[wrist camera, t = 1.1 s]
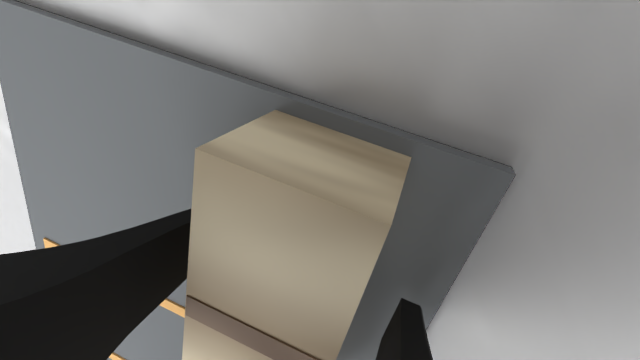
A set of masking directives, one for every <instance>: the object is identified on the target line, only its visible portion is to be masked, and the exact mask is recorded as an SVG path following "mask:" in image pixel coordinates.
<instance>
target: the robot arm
mask: <svg viewBox="0 0 640 360" xmlns="http://www.w3.org/2000/svg"><path fill="white" fill-rule="evenodd" d="M190 224H191V209H188V210H185V211H181V212H178V213H175V214H172V215H169V216H166V217H163V218H160V219H157V220H154V221H151V222H148V223H145V224H142V225H138V226H135V227H132V228H129V229H125V230H122V231H118V232H115V233H111V234H107V235H104V236H100V237H96V238H92V239H88V240H84V241H80V242H75V243H70V244H65V245H61V246H55V247H49V248H43V249H37V250H30V251H24V252H17V253H10V254H1V255H0V360H107V359H108V358H109V356H110V355H111V354H112V353H113V352H114V351H115V350H116V348H117V347H118V346H119V345H120V344H121V343H122V342H123V340H124V339H125V338H126V337H127V336H128V335H129V334H130V333H131V332H132V331H133V330H134V329H135V328H136V327H137V326H138V325H139V324H140V323H141V322H142V321H143V320H144V319H145V318H146V317H147V316H148V315H149V314H150V313H151V312H152V311H154V310H155V309H156V308H157V307H158V306H159V305H160V304H161V303H162V302H163V301H164V300H165V299H166V298H167V297H168V296H169V295H170V294H171V293H172V292H174V291H175V290H176V289H177V288H178V287H179V286H180V285H181V284H182V283H183V282H184V281H185V280H186V279H187V271H188V256H189V240H190ZM376 360H433V358H432V355H431V351H430V347H429V342H428V338H427V333H426V329H425V324H424V318H423V312H422V308H421V306H420V305H417V304H415V303H413V302H410V301H408V300H406V299H403V298H401V300H400V302H399V304H398V306H397V308H396V310H395V312H394V314H393V316H392V318H391V320H390V322H389V324H388V326H387V328H386V330H385V332H384V334H383V336H382V338H381V342H380V345H379V349H378V353H377V356H376Z"/></svg>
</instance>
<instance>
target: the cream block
mask: <svg viewBox="0 0 640 360" xmlns="http://www.w3.org/2000/svg"><path fill="white" fill-rule="evenodd" d="M410 161H411V157H409V156H406V155H403V154H401V153H398V152H395V151H392V150H389V149H386V148H383V147H381V146H378V145H375V144H372V143H369V142H366V141H363V140H361V139H358V138H355V137H352V136H349V135H346V134H343V133H340V132H338V131H335V130H332V129H329V128H326V127H323V126H320V125H318V124H315V123H312V122H309V121H306V120H303V119H300V118H298V117H295V116H292V115H289V114H286V113H283V112H280V111H278V110H274V111H272V112H270V113H268V114H266V115H263V116H261V117H259V118H257V119H255V120H253V121H251V122H249V123H247V124H245V125H243V126H241V127H239V128H237V129H235V130H232V131H230V132H228V133H226V134H224V135H222V136H220V137H218V138H216V139H214V140H212V141H210V142H208V143H206V144H203V145H201V146H199V147H197V148H195V160H194V176H193V192H192V208H191V224H190V240H189V256H188V271H187V287H186V303H185V319H184V335H183V351H182V360H336V358H337V356H338V354H339V351H340V349H341V346H342V344H343V341H344V339H345V337H346V334H347V332H348V329H349V327H350V324H351V322H352V320H353V317H354V315H355V312H356V310H357V307H358V305H359V303H360V300H361V298H362V295H363V293H364V291H365V288H366V286H367V283H368V281H369V278H370V276H371V274H372V271H373V269H374V266H375V264H376V261H377V259H378V257H379V254H380V252H381V249H382V247H383V244H384V242H385V240H386V237H387V235H388V232H389V230H390V227H391V225H392V221H393V218H394V215H395V211H396V208H397V205H398V201H399V198H400V194H401V191H402V188H403V184H404V181H405V178H406V174H407V171H408V167H409V164H410Z"/></svg>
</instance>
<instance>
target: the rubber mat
mask: <svg viewBox="0 0 640 360" xmlns="http://www.w3.org/2000/svg"><path fill="white" fill-rule="evenodd" d="M0 83H1V88H2V92H3V97H4V101H5V106H6V111H7V115H8V120H9V125H10V129H11V134H12V139H13V143H14V148H15V153H16V157H17V162H18V167H19V171H20V176H21V181H22V185H23V190H24V195H25V199H26V204H27V209H28V213H29V218H30V223H31V227H32V232H33V237H34V241H35V246H36V250H37V249H43V248H49V247H55V246H61V245H65V244H70V243H75V242H80V241H84V240H88V239H92V238H96V237H100V236H104V235H107V234H111V233H115V232H118V231H122V230H125V229H129V228H132V227H135V226H138V225H142V224H145V223H148V222H151V221H154V220H157V219H160V218H163V217H166V216H169V215H172V214H175V213H178V212H181V211H185V210H188V209H191V208H192V192H193V176H194V160H195V148H197V147H199V146H201V145H203V144H206V143H208V142H210V141H212V140H214V139H216V138H218V137H220V136H222V135H224V134H226V133H228V132H230V131H232V130H235V129H237V128H239V127H241V126H243V125H245V124H247V123H249V122H251V121H253V120H255V119H257V118H259V117H261V116H263V115H266V114H268V113H270V112H272V111H274V110H278V111H280V112H283V113H286V114H289V115H292V116H295V117H298V118H300V119H303V120H306V121H309V122H312V123H315V124H318V125H320V126H323V127H326V128H329V129H332V130H335V131H338V132H340V133H343V134H346V135H349V136H352V137H355V138H358V139H361V140H363V141H366V142H369V143H372V144H375V145H378V146H381V147H383V148H386V149H389V150H392V151H395V152H398V153H401V154H403V155H406V156H409V157H411V161H410V164H409V167H408V171H407V174H406V178H405V181H404V184H403V188H402V191H401V194H400V198H399V201H398V205H397V208H396V211H395V215H394V218H393V221H392V225H391V227H390V230H389V232H388V235H387V237H386V240H385V242H384V244H383V247H382V249H381V252H380V254H379V257H378V259H377V261H376V264H375V266H374V269H373V271H372V274H371V276H370V278H369V281H368V283H367V286H366V288H365V291H364V293H363V295H362V298H361V300H360V303H359V305H358V307H357V310H356V312H355V315H354V317H353V320H352V322H351V324H350V327H349V329H348V332H347V334H346V337H345V339H344V341H343V344H342V346H341V349H340V351H339V354H338V356H337V358H336V360H376V356H377V353H378V349H379V345H380V342H381V338H382V336H383V334H384V332H385V330H386V328H387V326H388V324H389V322H390V320H391V318H392V316H393V314H394V312H395V310H396V308H397V306H398V304H399V302H400V300H401V298H403V299H406V300H408V301H410V302H413V303H415V304H417V305H420V306H421V308H422V312H423V318H424V324H425V329H427V328H428V326H429V324H430V322H431V321H432V319H433V317H434V315H435V314H436V312H437V310H438V309H439V307H440V305H441V303H442V302H443V300H444V298H445V296H446V295H447V293H448V291H449V289H450V288H451V286H452V284H453V283H454V281H455V279H456V277H457V276H458V274H459V272H460V270H461V269H462V267H463V265H464V264H465V262H466V260H467V258H468V257H469V255H470V253H471V251H472V250H473V248H474V246H475V245H476V243H477V241H478V239H479V238H480V236H481V234H482V232H483V231H484V229H485V227H486V226H487V224H488V222H489V220H490V219H491V217H492V215H493V213H494V212H495V210H496V208H497V207H498V205H499V203H500V201H501V200H502V198H503V196H504V194H505V193H506V191H507V189H508V187H509V186H510V184H511V182H512V181H513V179H514V177H515V173H514V170H513V168H512V167H510V166H507V165H504V164H501V163H498V162H495V161H492V160H489V159H486V158H483V157H480V156H477V155H474V154H471V153H468V152H465V151H462V150H459V149H456V148H453V147H450V146H447V145H444V144H441V143H438V142H435V141H432V140H429V139H426V138H423V137H420V136H417V135H414V134H411V133H408V132H405V131H402V130H399V129H396V128H393V127H390V126H388V125H385V124H382V123H379V122H376V121H373V120H370V119H367V118H364V117H361V116H358V115H355V114H352V113H349V112H346V111H343V110H340V109H337V108H334V107H331V106H328V105H325V104H322V103H319V102H316V101H313V100H310V99H307V98H304V97H301V96H298V95H295V94H292V93H289V92H286V91H283V90H280V89H277V88H274V87H271V86H268V85H265V84H262V83H259V82H256V81H253V80H250V79H247V78H244V77H242V76H239V75H236V74H233V73H230V72H227V71H224V70H221V69H218V68H215V67H212V66H209V65H206V64H203V63H200V62H197V61H194V60H191V59H188V58H185V57H182V56H179V55H176V54H173V53H170V52H167V51H164V50H161V49H158V48H155V47H152V46H149V45H146V44H143V43H140V42H137V41H134V40H131V39H128V38H125V37H122V36H119V35H116V34H113V33H110V32H107V31H104V30H101V29H98V28H96V27H93V26H90V25H87V24H84V23H81V22H78V21H75V20H72V19H69V18H66V17H63V16H60V15H57V14H54V13H51V12H48V11H45V10H42V9H39V8H36V7H33V6H30V5H27V4H24V3H21V2H18V1H15V0H0ZM186 287H187V279H186V280H185V281H184V282H183V283H182V284H181V285H180V286H179V287H178V288H177V289H176V290H175V291H174V292H172V293H171V294H170V295H169V296H168V297H167V298H166V299H165V300H164V301H163V302H162V303H161V304H160V305H159V306H158V307H157V308H156V309H155V310H154V311H152V312H151V313H150V314H149V315H148V316H147V317H146V318H145V319H144V320H143V321H142V322H141V323H140V324H139V325H138V326H137V327H136V328H135V329H134V330H133V331H132V332H131V333H130V334H129V335H128V336H127V337H126V338H125V339H124V340H123V342H122V343H121V344H120V345H119V346H118V347H117V348H116V350H115V351H114V352H113V353H112V354H111V355H110V356H109V358H108V359H107V360H182V351H183V335H184V319H185V303H186Z"/></svg>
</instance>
